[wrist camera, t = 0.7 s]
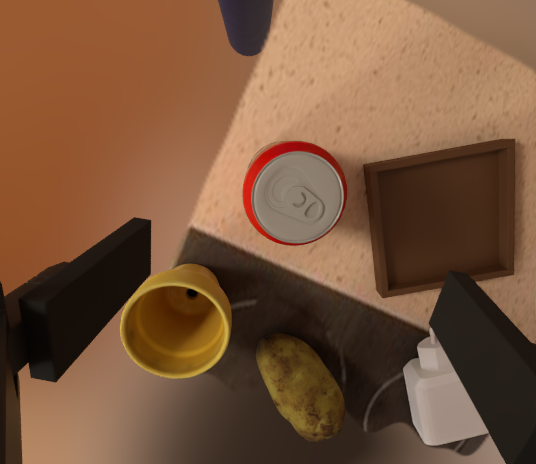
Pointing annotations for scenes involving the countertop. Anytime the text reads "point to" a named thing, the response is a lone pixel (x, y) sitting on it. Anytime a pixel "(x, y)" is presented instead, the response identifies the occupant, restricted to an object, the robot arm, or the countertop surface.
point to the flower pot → (177, 323)
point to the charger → (439, 397)
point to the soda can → (294, 192)
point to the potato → (301, 386)
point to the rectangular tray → (442, 216)
